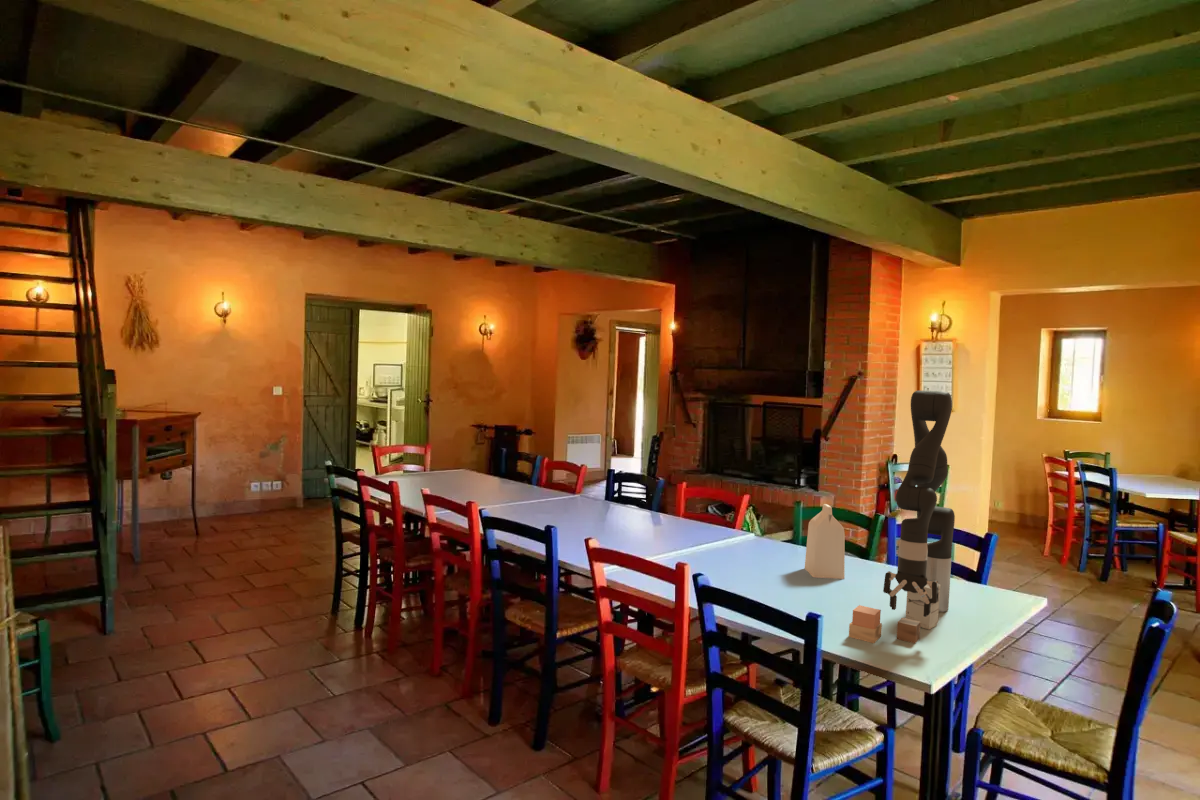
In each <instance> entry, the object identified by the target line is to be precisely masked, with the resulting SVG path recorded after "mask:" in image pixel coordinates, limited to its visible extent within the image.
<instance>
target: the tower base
mask: <svg viewBox="0 0 1200 800" xmlns="http://www.w3.org/2000/svg"><path fill="white" fill-rule="evenodd" d="M848 626H849V627H848V638H852V639H855V640H856V639H857V640H859V641H865V642H868V643H872V644H875V643H876V642H877V641H878V640H879V639H880V638H881V637H882V631H883V630H882V629H883V627H882V626H883V623H882V622H880V624H879V625H878V626H877V627H876V628H875V629H871V628H866V627H862V626H858V625H854V624H852V621H851V622H850V623H849V625H848Z"/></svg>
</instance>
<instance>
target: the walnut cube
mask: <svg viewBox="0 0 1200 800" xmlns="http://www.w3.org/2000/svg"><path fill="white" fill-rule="evenodd" d="M920 624H921V622H920V621H915V620H911V619H906V617H901V618H900V619H899V620H898V621H897V625H896V626H897V627H896V628H897V629H896V640H899V641H904V642H908V643H912V644H917V642H919V640H920V639H921V627H920Z"/></svg>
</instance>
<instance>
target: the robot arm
mask: <svg viewBox="0 0 1200 800" xmlns="http://www.w3.org/2000/svg"><path fill="white" fill-rule="evenodd" d="M952 408H953V397H952V396H951V394H950V392H948V391H942V390H915V391H913V393H912V395H911V397H910V413H911V414H910V415H911V421H912V428H913V437H914V438H913V439H914V448H913V449H912V452H911V454H910V457H909V463H908V468H907V472H906V475H905V476H904V478H903V481H902V482H901V483H900V485H899V487H898V489H897V491H896V493H895V504H896V505H897V507H898V508H899V509H901V510H904V511H911V512H916V517H914V518H910V517H909V518H905V519H903V520H902V521H901V523H900V535H899V536H900V540H899V543H898V551H897V555H898V558H897V572H896V573H895V572H892V571H887V572H886V573H885V575H884V580H883V581H884V584H883V590H882V592H883V593H884V594H888V595H889V607H890V608H891V610H893V611H896V609H897V599H898V597H897V596H898V595H897V594H898V593H899V592H900V591H901V590H903V591H904V592H907V591H910V592H912V593H919V595H920V596H921V597H922V599H923V600H924V602H925V603H924V615H923V616H924V617H927V616H928V615H929V614H930V610H931V603H936V602H937V601H938V600H939V612H941V613H942V612H947V611H949V604H950V587H951V571H952V570H951V568H952V553H953V552H952V551H953V539H954V529H955V519H956V516H955V511H954V510H953V509H952V508H951V507H943V506H938V505H937V502H938V497H937V494H936V492H937V490H938V489H939V488H940V487H941V486H942V485H943V483H944V482H945V480H946V479H947V477H948V473H949V472H948V470H949V469H948V468H949V467H948V456H947V453H946V451H945V450H944V448H943V447H942V442H943V440H944V437H945V435H946V432H947V428H948V425H949V421H950V419H951V415H952V411H953V409H952ZM927 422H935V423H934V424H933V427H932V428H931V429H930V430H929V427H928V425H927ZM928 534H929V535H936V536H941V537H940V539H939V540H937V541H934V542H928V538H929V537H928ZM894 579H895V580H896V581H897V585H896V586H895V588H893V589H891V582H892V581H893V580H894ZM927 584H928V585H929V587H930V588H931V589H932V598H930V597H929V595H928V594H927V591H926V590H925V588H924V587H925V586H926V585H927ZM938 584H940V585H941V586H940V597H939V596H938ZM939 612H938V613H939Z"/></svg>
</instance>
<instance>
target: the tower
mask: <svg viewBox="0 0 1200 800" xmlns="http://www.w3.org/2000/svg"><path fill="white" fill-rule="evenodd" d="M881 611H882V610H881V609H878V608H873V607H870V606H865V605H860V604H859V605H857V607H855V608H854V609H853V610H852V618H851V619H852V620H851V622H852V624H854V625H858V626H862V627H866V628H871V629H875V628H876V627H877V626H878V625H879V624H880V623H881V614H882V613H881Z"/></svg>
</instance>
